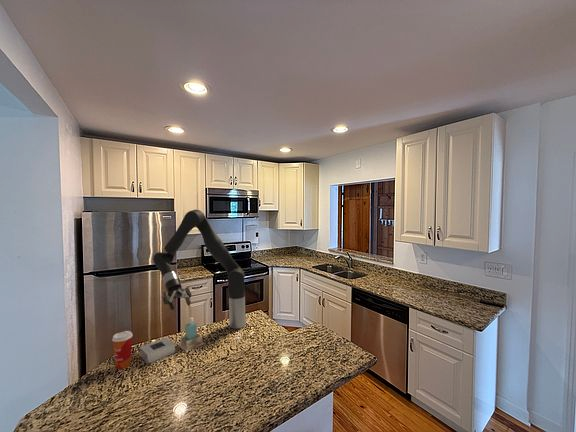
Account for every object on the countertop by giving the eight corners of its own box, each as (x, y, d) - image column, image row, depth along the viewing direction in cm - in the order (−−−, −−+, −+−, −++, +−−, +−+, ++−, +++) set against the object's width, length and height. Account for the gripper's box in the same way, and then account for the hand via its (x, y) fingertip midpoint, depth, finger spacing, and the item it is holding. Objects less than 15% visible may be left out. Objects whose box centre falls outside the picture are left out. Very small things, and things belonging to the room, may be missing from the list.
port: (166, 346, 128) (166, 337, 128) (175, 354, 122) (174, 344, 121) (140, 357, 120) (139, 346, 120) (147, 365, 113) (147, 355, 113)
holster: (195, 338, 137) (195, 330, 137) (205, 344, 130) (205, 336, 130) (177, 345, 129) (176, 337, 129) (186, 353, 122) (186, 344, 122)
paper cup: (111, 365, 113) (110, 334, 113) (131, 358, 119) (130, 328, 118) (115, 373, 108) (114, 340, 107) (135, 365, 113) (134, 334, 113)
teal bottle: (193, 340, 132) (192, 316, 132) (196, 343, 130) (196, 318, 129) (185, 344, 129) (185, 318, 129) (189, 346, 127) (188, 320, 126)
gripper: (160, 280, 137) (169, 307, 129) (186, 275, 147) (196, 299, 139) (156, 288, 140) (165, 315, 133) (182, 282, 151) (192, 307, 143)
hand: (181, 307), depth 136 cm, fingers open, 8 cm apart
